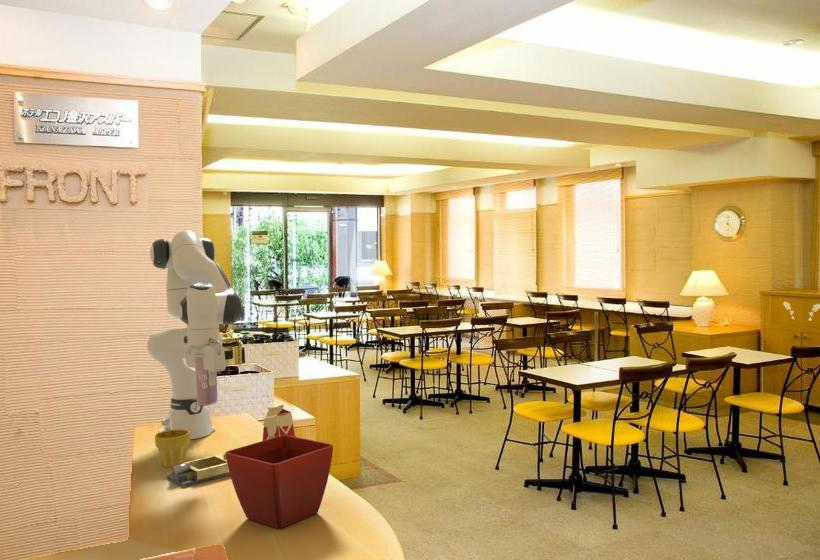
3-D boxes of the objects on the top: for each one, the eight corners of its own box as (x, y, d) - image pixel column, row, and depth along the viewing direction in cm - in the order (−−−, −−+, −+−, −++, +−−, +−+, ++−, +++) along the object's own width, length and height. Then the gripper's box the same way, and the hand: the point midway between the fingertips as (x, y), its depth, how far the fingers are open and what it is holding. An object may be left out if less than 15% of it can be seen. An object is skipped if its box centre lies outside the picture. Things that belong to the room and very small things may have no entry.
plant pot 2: (287, 496, 182) (284, 433, 181) (338, 511, 169) (335, 444, 169) (226, 520, 167) (223, 451, 166) (277, 538, 155) (274, 464, 154)
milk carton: (302, 469, 204) (299, 402, 203) (277, 477, 198) (273, 408, 197) (284, 463, 211) (281, 398, 210) (259, 471, 204) (255, 404, 203)
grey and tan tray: (167, 478, 201) (166, 462, 201) (233, 461, 214) (232, 446, 214) (183, 487, 192) (182, 470, 192) (251, 469, 206) (250, 453, 205)
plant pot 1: (191, 466, 211) (189, 435, 211) (155, 471, 208) (153, 439, 208) (191, 457, 221) (190, 427, 221) (157, 461, 218) (155, 431, 218)
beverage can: (220, 401, 207) (218, 352, 207) (212, 406, 201) (211, 355, 201) (201, 401, 208) (200, 352, 208) (193, 406, 202) (191, 355, 202)
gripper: (229, 338, 198) (232, 386, 199) (199, 335, 214) (202, 379, 214) (209, 340, 194) (211, 389, 195) (180, 337, 210) (182, 382, 210)
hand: (206, 384), depth 204 cm, fingers closed on beverage can, 5 cm apart
